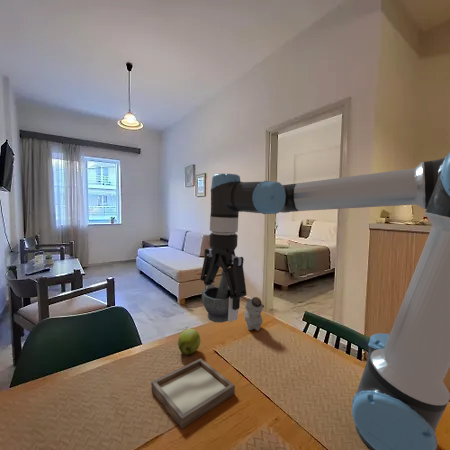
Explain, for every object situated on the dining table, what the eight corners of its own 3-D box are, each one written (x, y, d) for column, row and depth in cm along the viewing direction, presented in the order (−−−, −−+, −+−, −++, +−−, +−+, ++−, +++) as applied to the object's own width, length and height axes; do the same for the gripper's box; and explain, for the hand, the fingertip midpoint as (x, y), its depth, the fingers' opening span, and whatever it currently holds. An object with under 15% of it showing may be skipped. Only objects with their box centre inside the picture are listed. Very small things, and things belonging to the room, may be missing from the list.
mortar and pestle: (229, 328, 64) (231, 282, 62) (195, 321, 66) (197, 277, 65) (241, 311, 74) (243, 271, 73) (211, 305, 77) (213, 267, 76)
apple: (201, 345, 94) (201, 324, 94) (198, 360, 85) (198, 337, 85) (180, 344, 95) (181, 323, 94) (175, 359, 86) (175, 336, 85)
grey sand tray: (234, 394, 70) (234, 385, 70) (181, 429, 59) (182, 418, 59) (200, 365, 82) (200, 358, 82) (151, 390, 71) (151, 381, 71)
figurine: (240, 333, 104) (241, 297, 103) (248, 322, 113) (248, 290, 112) (261, 337, 101) (262, 301, 99) (267, 326, 110) (268, 293, 109)
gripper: (264, 237, 62) (259, 325, 64) (210, 227, 79) (207, 297, 81) (242, 239, 57) (237, 334, 59) (189, 228, 74) (187, 302, 76)
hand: (220, 312), depth 70 cm, fingers closed on mortar and pestle, 10 cm apart
